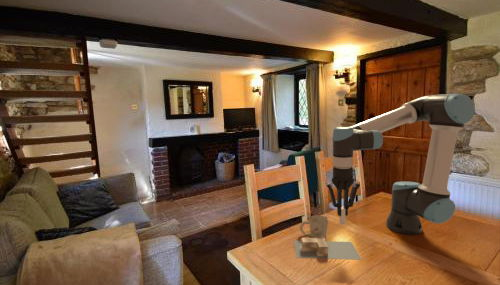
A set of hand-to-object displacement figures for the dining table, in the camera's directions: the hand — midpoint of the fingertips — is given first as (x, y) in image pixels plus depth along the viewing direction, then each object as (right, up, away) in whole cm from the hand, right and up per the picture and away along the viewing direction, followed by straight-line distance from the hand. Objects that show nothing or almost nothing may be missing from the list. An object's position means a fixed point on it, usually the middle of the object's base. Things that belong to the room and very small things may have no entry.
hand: (342, 222), depth 105 cm
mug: (-9, -12, +13) cm, 20 cm away
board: (-6, -13, +2) cm, 15 cm away
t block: (-11, -12, +2) cm, 16 cm away
